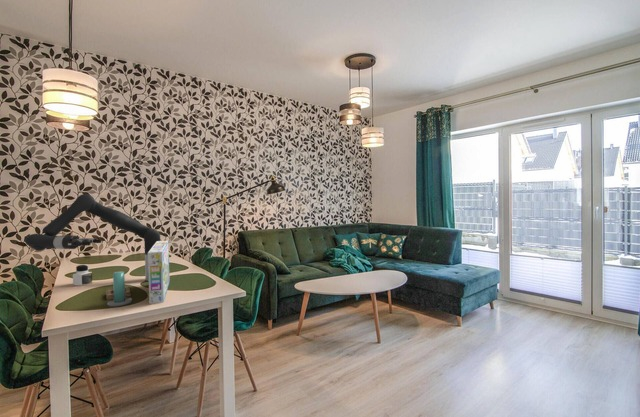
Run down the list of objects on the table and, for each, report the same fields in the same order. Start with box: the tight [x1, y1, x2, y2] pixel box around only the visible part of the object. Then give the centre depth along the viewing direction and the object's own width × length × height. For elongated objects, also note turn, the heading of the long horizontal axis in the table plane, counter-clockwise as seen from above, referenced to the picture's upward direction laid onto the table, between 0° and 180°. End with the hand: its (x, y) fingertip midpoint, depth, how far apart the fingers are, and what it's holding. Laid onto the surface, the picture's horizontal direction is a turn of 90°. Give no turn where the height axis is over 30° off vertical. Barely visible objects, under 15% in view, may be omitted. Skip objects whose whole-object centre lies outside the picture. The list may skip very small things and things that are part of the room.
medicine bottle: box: [72, 264, 93, 287], centre depth 200 cm, size 7×7×12 cm
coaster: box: [106, 297, 133, 308], centre depth 165 cm, size 11×11×1 cm
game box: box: [148, 240, 171, 305], centre depth 183 cm, size 40×7×27 cm, turn 21°
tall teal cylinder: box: [112, 271, 126, 303], centre depth 165 cm, size 5×5×15 cm
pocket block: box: [105, 286, 131, 301], centre depth 178 cm, size 11×11×2 cm
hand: (95, 242), depth 176 cm, fingers open, 8 cm apart
